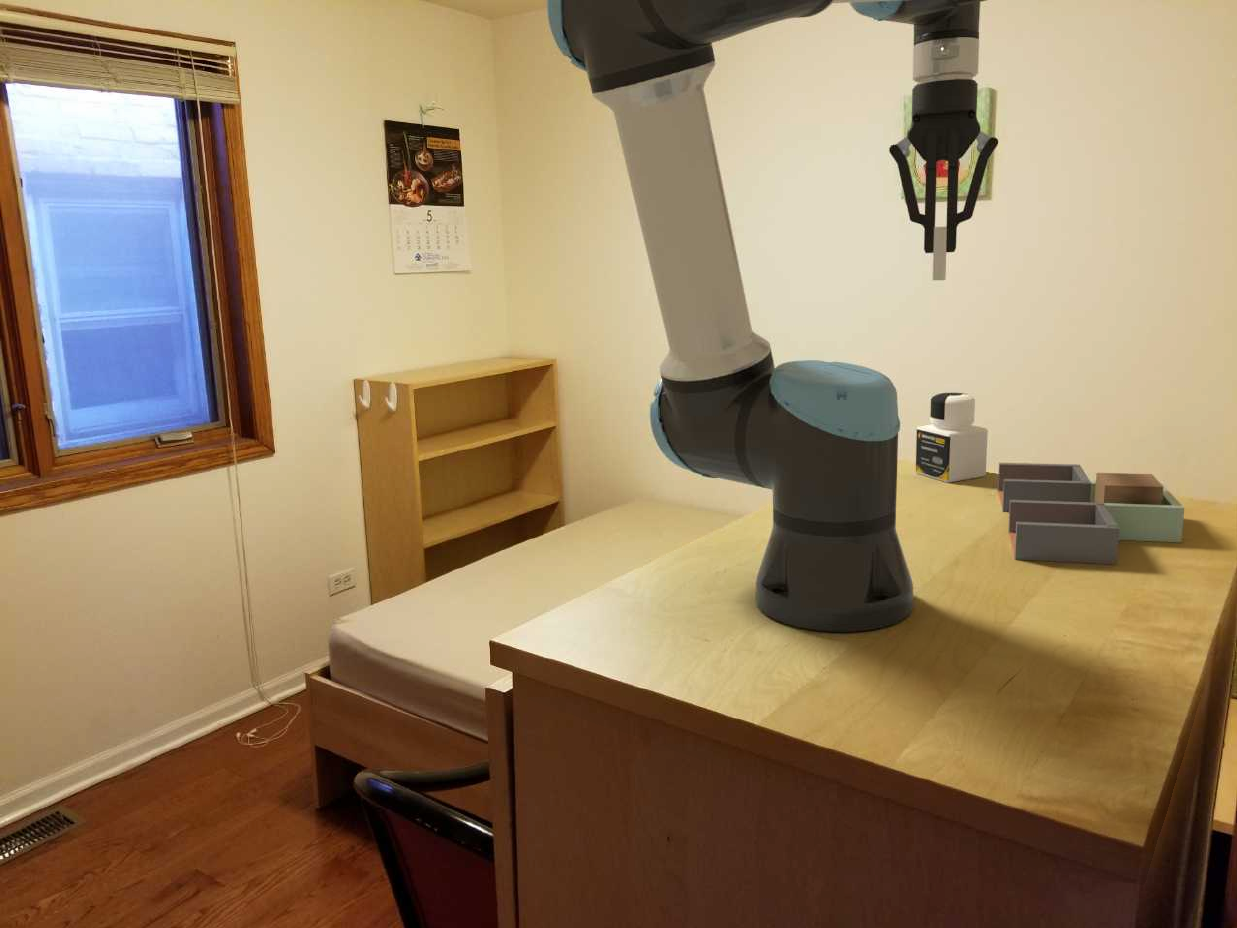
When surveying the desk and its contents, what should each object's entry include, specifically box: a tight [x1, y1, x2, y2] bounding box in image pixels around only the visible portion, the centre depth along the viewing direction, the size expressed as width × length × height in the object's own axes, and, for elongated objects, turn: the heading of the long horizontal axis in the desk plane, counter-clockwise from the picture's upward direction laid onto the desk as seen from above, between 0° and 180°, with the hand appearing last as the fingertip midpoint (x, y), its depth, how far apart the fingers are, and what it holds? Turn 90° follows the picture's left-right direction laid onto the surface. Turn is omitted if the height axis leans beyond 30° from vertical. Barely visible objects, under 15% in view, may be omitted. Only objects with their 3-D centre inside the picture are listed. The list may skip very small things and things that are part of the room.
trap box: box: [997, 462, 1185, 565], centre depth 116 cm, size 18×29×4 cm, turn 163°
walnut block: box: [1095, 472, 1163, 505], centre depth 114 cm, size 6×6×6 cm
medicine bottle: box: [915, 392, 989, 484], centre depth 141 cm, size 7×7×12 cm
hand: (939, 279), depth 123 cm, fingers closed
